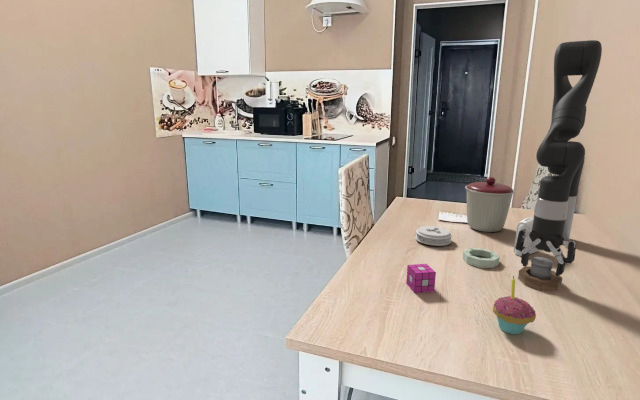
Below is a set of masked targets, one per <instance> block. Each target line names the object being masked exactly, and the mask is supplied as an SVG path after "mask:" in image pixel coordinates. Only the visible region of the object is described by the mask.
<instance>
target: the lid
mask: <svg viewBox="0 0 640 400" xmlns="http://www.w3.org/2000/svg"><path fill="white" fill-rule="evenodd" d="M415 233H416V234H415V235H416V236H415V240H416V241H417V242H419V243H422V244H425V245H429V246H436V247H437V246H441V247H442V246H448V245H450V244H451V243H452V236H453V233H452V232H451V231H450V230H449V229H447V228H445V227H443V226H442V227H440V226H435V225H423V226H421V227H418V228H417V229H416V230H415Z"/></svg>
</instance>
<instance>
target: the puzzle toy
mask: <svg viewBox="0 0 640 400" xmlns="http://www.w3.org/2000/svg"><path fill="white" fill-rule="evenodd" d="M406 267H407V268H406V281H405V282H406V283H405V284H406V285H407V286H408V288H410V290H411V291H412V292H413V293H414V294H417V293H419V294H420V293H431V292H433V293H434V292H435V288H436V274H437V272H436V271H435V270H434V269H433V268H432V267H431V266H430V265H429V264H428V263H418V264H407V266H406Z"/></svg>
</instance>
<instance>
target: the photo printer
mask: <svg viewBox="0 0 640 400" xmlns="http://www.w3.org/2000/svg"><path fill="white" fill-rule="evenodd" d="M533 219H534V216H530V217H526V218H524V219H522V220H520V221H519V222H518V223H517V226H516V231H515V233H516V234H515V238H514V239H515V240H514V246H513V253H514V254H515V255H516V256H519V257H522V252H521V251H519V250H516V243H517V238H518V234H519V231H520V230H522V229H526V231H529V232H531V231H532V226H533ZM531 243H532V241H531V239H530V237H529V236H528V237H526V238H525V240H524V245H523V246H524V247H527V246H528V245H530V244H531ZM538 251H539V250H538V249H537V248H536V247H534V248H533V249H531V250H530V251H529V253H530V254H529V255H532V254H534V253H537V252H538Z"/></svg>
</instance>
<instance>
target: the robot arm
mask: <svg viewBox="0 0 640 400" xmlns="http://www.w3.org/2000/svg"><path fill="white" fill-rule="evenodd" d="M602 48H603V47H602V43H601V41H599V40H594V39H593V40H591V39H588V40H578V41H577V40H576V41H566V42H562V43H560V44H558V46H557V47H556V49H555V53H554V56H553V100H552V107H551V109H552V110H551V121H550V127H549V130H548V131H547V133H546V135H545V137H544V138H543V140H542V141H541V143H540V144H539V146H538V148H537V151H536V161H537V163H538V164H539V165H540V166H541V167H543V168H544V167H545V168H547V171H548V173H550V174H552V175H547V176H543V177H542V178H541V179H540V182H539V188H538V195H537V200H536V203H535V207H534V215H533V217H534V219H533V226H532V231H531V232H529V231H526V229H522V230H520V231H519V234H518V238H517V243H516V250H519V251H521V252H522V256H521V258H520V259H521V261H520V264H521V265H522V267H528V265H529V260H530V255H531V254H530V253H529V251H530V250H531V249H533V248H534V247H536V248H537V249H538V251H539V250H540V251H545V252H546V253H552V255H553V257H555V258H556V260H557V264H556V265H557V266H556V271H555V272H556V276H562V275H563V274H564V272H565V269H566V268H565V267H566V264H568V265H570V264H572V263H574V261H575V257H576V250H577V240H575V239H572V240H570V236H571V231H572V225H573V221H574V216H575V215H574V214H575V210H576V203H577V197H578V194H579V193H578V191H579V185H580V180H581V177H582V172H583V169H584V166H585V165H584V163H585V158H586V157H585V156H586V150H585V145H583V144H582V143H581V142H580V141H579V142H578V141H572V140H571V139H574V138H576V137H578V136H579V135H580V133H581V130H582V129H583V128H584V126H585V122H586V115H587V102H588V99H589V97H590V94H591V92H592V90H593V89H592V88H593V86H594V83H595V80H596V77H597V74H598V71H599V67H600V63H601V58H602V53H603V52H602V50H603V49H602ZM569 76H572V77H573V76H581V77H580V79H579V80H578V82H576V84H575V85H574V86H572V84H571V82H570V79H569ZM570 140H571V141H570ZM528 236H529V237H530V239H531V241H532V243H531V244H530V245H528V246H527V247H524V246H523V245H524V240H525V238H526V237H528ZM562 245H564V246H565V249H567V253H566V254H567V255H566V256H565V254H564V252H563V250H562V248H561V246H562Z"/></svg>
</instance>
